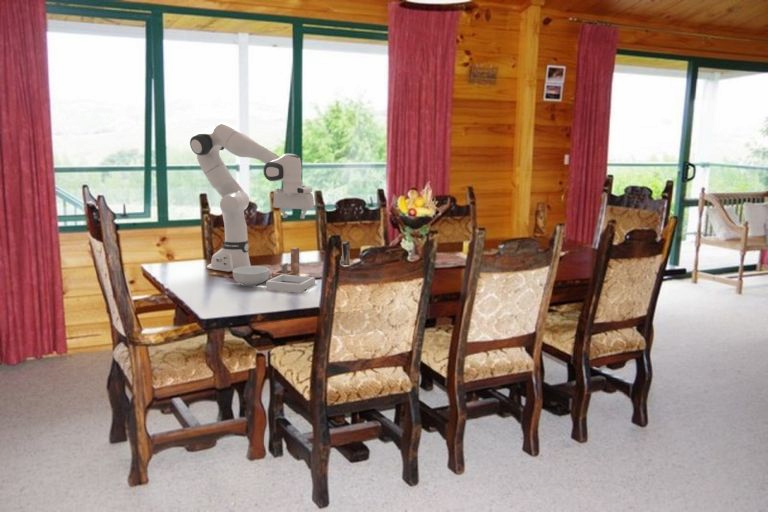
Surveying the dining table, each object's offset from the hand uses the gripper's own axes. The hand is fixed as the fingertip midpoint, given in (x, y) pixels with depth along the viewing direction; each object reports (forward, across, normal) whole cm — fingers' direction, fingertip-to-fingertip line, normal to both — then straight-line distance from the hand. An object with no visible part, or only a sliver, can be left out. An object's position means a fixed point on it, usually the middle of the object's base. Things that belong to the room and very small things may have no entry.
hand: (293, 218), depth 330 cm
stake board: (+29, -3, 0) cm, 29 cm away
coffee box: (+30, +16, +18) cm, 38 cm away
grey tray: (+29, +7, -16) cm, 34 cm away
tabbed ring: (+28, -4, -1) cm, 28 cm away
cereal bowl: (+29, -13, -18) cm, 37 cm away
